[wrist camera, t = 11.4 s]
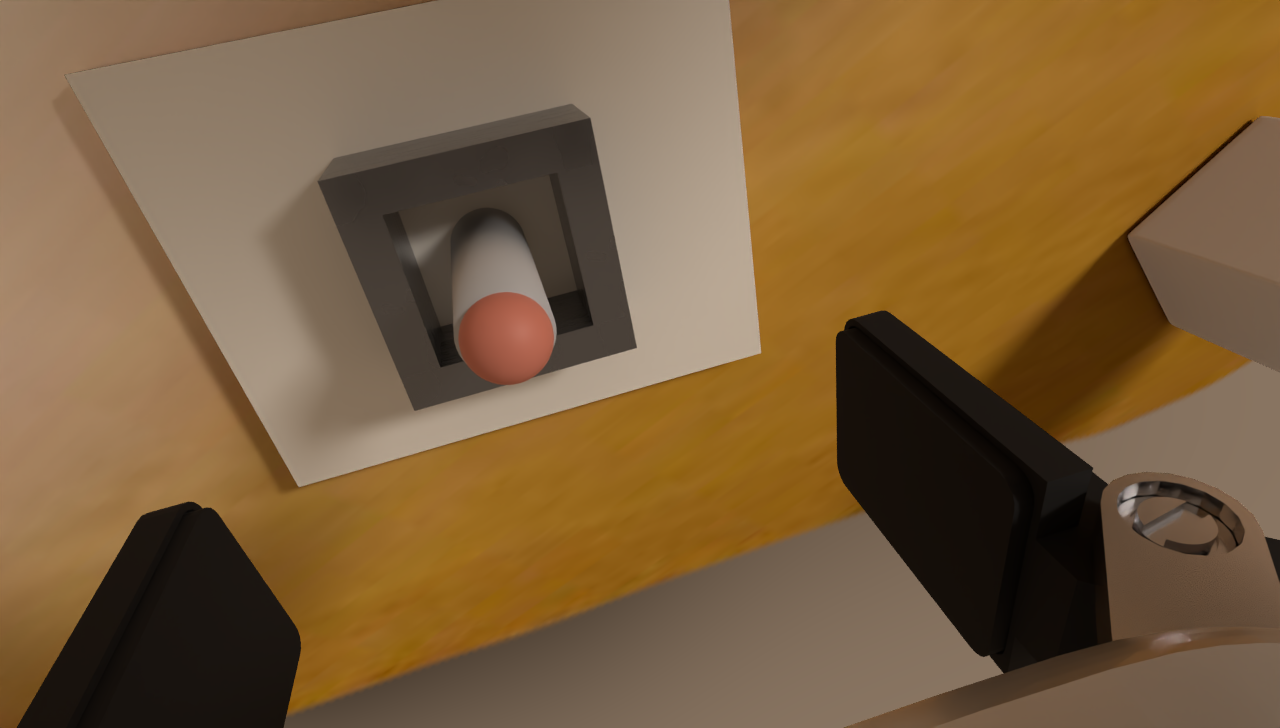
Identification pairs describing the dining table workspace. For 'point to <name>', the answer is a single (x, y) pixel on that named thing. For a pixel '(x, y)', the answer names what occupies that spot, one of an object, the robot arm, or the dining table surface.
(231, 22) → the dining table surface
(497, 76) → the white peg stand
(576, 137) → the grey square socket block
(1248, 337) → the milk carton
